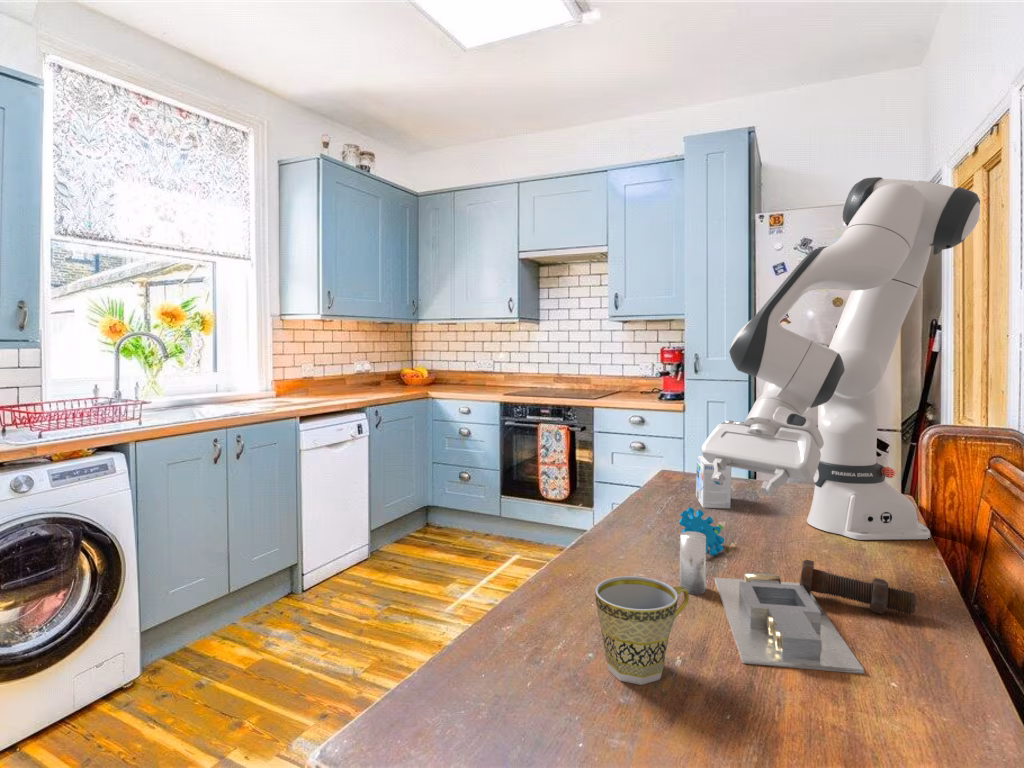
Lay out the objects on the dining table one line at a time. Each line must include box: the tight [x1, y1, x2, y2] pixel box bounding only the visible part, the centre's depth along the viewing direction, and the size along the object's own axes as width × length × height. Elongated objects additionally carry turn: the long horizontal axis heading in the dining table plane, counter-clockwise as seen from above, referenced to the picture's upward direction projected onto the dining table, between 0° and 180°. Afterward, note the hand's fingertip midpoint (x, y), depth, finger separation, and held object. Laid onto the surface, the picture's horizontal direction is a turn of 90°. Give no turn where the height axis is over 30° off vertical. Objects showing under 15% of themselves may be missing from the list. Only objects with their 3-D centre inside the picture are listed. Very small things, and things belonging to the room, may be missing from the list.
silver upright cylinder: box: [679, 531, 707, 595], centre depth 98 cm, size 4×4×9 cm
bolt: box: [799, 559, 917, 615], centre depth 91 cm, size 6×5×15 cm
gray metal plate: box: [714, 571, 865, 675], centre depth 87 cm, size 14×26×4 cm, turn 169°
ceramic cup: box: [594, 575, 690, 686], centre depth 75 cm, size 13×10×10 cm
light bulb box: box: [695, 455, 732, 509], centre depth 149 cm, size 11×7×11 cm, turn 172°
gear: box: [678, 507, 725, 557], centre depth 117 cm, size 11×6×10 cm
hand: (739, 487), depth 104 cm, fingers open, 8 cm apart
